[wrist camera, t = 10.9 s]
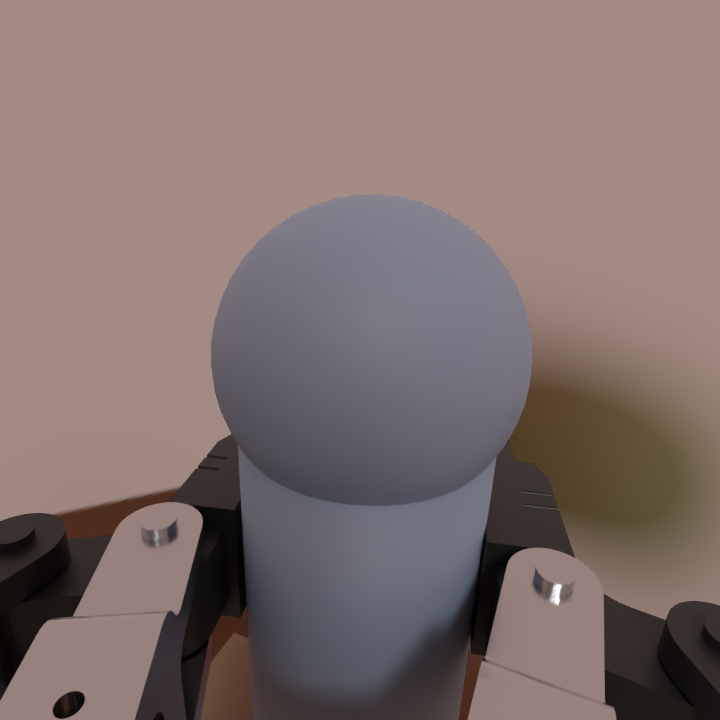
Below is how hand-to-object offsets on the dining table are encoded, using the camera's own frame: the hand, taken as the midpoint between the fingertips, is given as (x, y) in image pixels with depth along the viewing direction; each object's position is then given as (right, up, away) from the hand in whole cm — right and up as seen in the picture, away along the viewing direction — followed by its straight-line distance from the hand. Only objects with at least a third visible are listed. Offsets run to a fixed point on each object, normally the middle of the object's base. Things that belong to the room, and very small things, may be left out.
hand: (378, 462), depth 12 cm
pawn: (-1, -7, 0) cm, 8 cm away
